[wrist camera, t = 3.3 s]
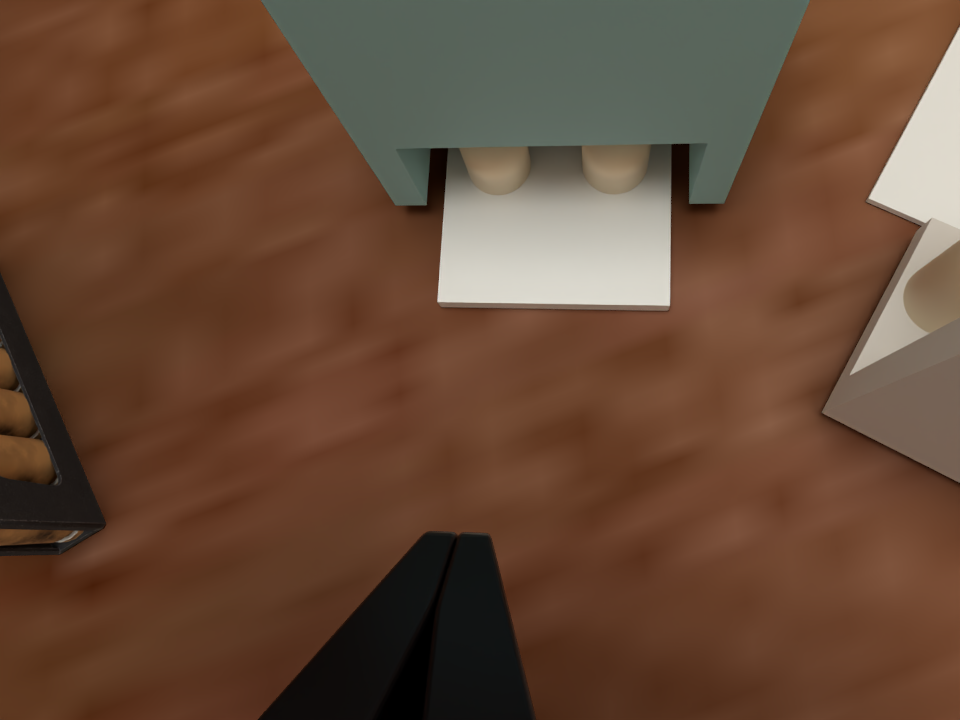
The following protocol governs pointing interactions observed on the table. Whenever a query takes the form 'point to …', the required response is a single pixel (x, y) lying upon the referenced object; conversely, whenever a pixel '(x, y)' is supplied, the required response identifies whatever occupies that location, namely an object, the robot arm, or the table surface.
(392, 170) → the housing
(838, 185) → the table surface
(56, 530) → the ammunition clip
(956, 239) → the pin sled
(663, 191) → the board
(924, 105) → the pad
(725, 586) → the table surface
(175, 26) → the table surface
